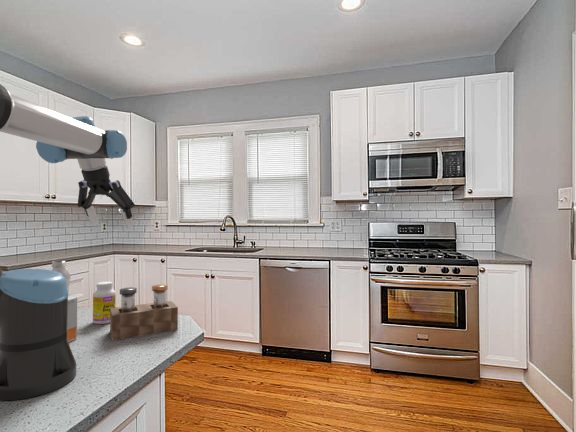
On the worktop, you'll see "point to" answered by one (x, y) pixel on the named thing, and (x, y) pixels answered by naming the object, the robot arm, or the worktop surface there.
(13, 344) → the robot arm
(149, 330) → the walnut block
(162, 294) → the rust plunger
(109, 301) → the supplement bottle
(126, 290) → the charcoal plunger
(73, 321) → the skincare box
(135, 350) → the worktop surface
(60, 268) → the plastic bottle
